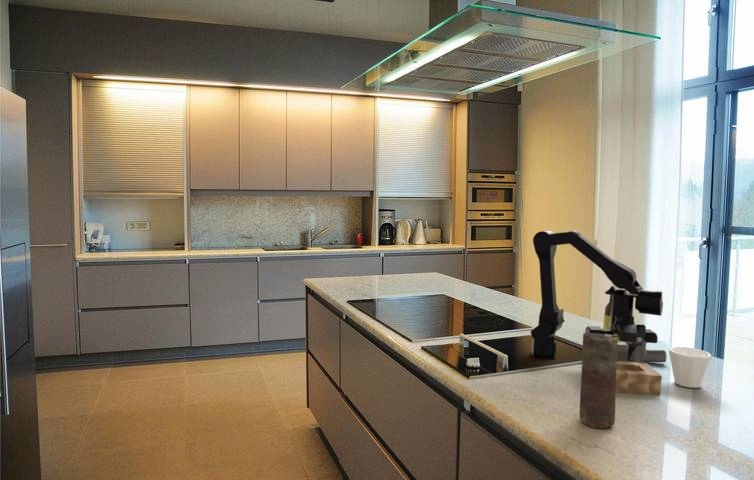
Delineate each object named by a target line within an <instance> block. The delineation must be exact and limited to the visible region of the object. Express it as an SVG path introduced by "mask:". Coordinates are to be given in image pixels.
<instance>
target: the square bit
mask: <svg viewBox="0 0 754 480" xmlns="http://www.w3.org/2000/svg"><path fill="white" fill-rule="evenodd" d="M628 346H629V345H628V344H626V343H625V342H618V344H617V361H623V362H627V361H628ZM628 362H629V361H628Z"/></svg>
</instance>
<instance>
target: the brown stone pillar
mask: <svg viewBox="0 0 754 480" xmlns="http://www.w3.org/2000/svg"><path fill="white" fill-rule="evenodd" d="M582 335H583V336H582V354H581V357H582V358H581V377H580V378H581V380H580V396H579V419H580V420H581V421H582V422H583V423H584V424H585V425H586V426H587V427H589V428H593V429H599V428H600V429H605V428H606V429H607V427H611V426H614V425H615V422H616V396H617V395H616V394H617V392H616V371H617V344H618V339H617V338H616V337H613V338H612V337H608V336H605V335H602V334H593V333H585V332H583V333H582Z"/></svg>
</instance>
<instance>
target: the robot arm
mask: <svg viewBox="0 0 754 480" xmlns="http://www.w3.org/2000/svg"><path fill="white" fill-rule="evenodd" d="M532 244H533V247H534V251H535V255H536V256H537V258H538V263H539V279H540V293H541V307H540V312H539V314H538V324H537V325H536V326H535V327H534V328H533V329H532V330H531V331H530V334H531V338H532V340H531V341H532V342H531V350H530V354H531V355H532V357H533V358H536V359H538V358H539V359H552V360H553V359H556V357H555V356H556V353H557V351H556V350H557V342H556V341H555V340H556V339H555V337H554V336H555V335H556V333H557V332H558V331H559V330H560V329H562V328H563V325H564V324H563V323H564V322H565V321H566V320H565V318H564V308H561V309H560V308H559V306H558V302H557V290H556V275H555V273H556V271H555V255H556V252H557V249H558V248H557V247H558V246H560V245H561V246H562V245H571V246H572V247H573V248H574V249H575V250H577V251H578V252H579V253H581V254H582V255H583V256H585V257H586V258H587V259H588V260H589V261H591V262H592V263H593V264H594V265H596V266H597V267H598V268H600V269H601V271H602V272H603V274H604V275H605V276H606V277H607V279H608V280H609V281H610V282H611V284H613V285H611V286H610V288H609V289H608V290H606V291H605V292H604V294H606V295H609V296H610V295H612V310H611V312H610V315H611V325H610V326H609V329H610V330H603V328H601V326H596V325H594V326H593V325H587V326H586V328H585V331H584V333H593V334H602V335H605V336H608V337H619V340H620V341H622V342H626V344H628V345H629V346H628V361H627V362H629V359H630V357H631V355H632V353H633V351H634V349H635V348H636V347H637V346H638V345H642V344H643V343H642V342H641V339H643V340H644V341H645V342H646V344H649V343H650V344H657V343H658V340H659V339H658V334H657V333H656V332H655V331H653V330H652V329H649V328H647V327H646V325H645V324H640V323H638V324H636V323H635V316H634V309H635V310H636V311H638V313H639V314H644V315H650V316H651V315H652V316H660V317H661V316H662V314H663V307H664V301H663V291H661V290H645V289H644V288H643V287H642V285H641V284H640V283H639V281H638V280H637V273H636V271H635V270H634V269H633V268H631V267H629V266H627V265H625V264H623V263H621V262H619V261H617V260H615V259H613V258H611V257H610V256H609V255H608V254H606V253H605V252H603V251H602V250H601V249H600V248H598V247H597V246H596V245H594V244H593V242H591V241H590V240H588V239H587V238H585V236H583V235H582V234H581V233H580V232H579V231H577V230H570V231H563V232H553V231H552V230H541V231H538V232H537V233H535V234H534V236H533V238H532ZM616 288H619V289H616ZM622 289H623V290H622ZM634 299H635V301H634Z"/></svg>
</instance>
